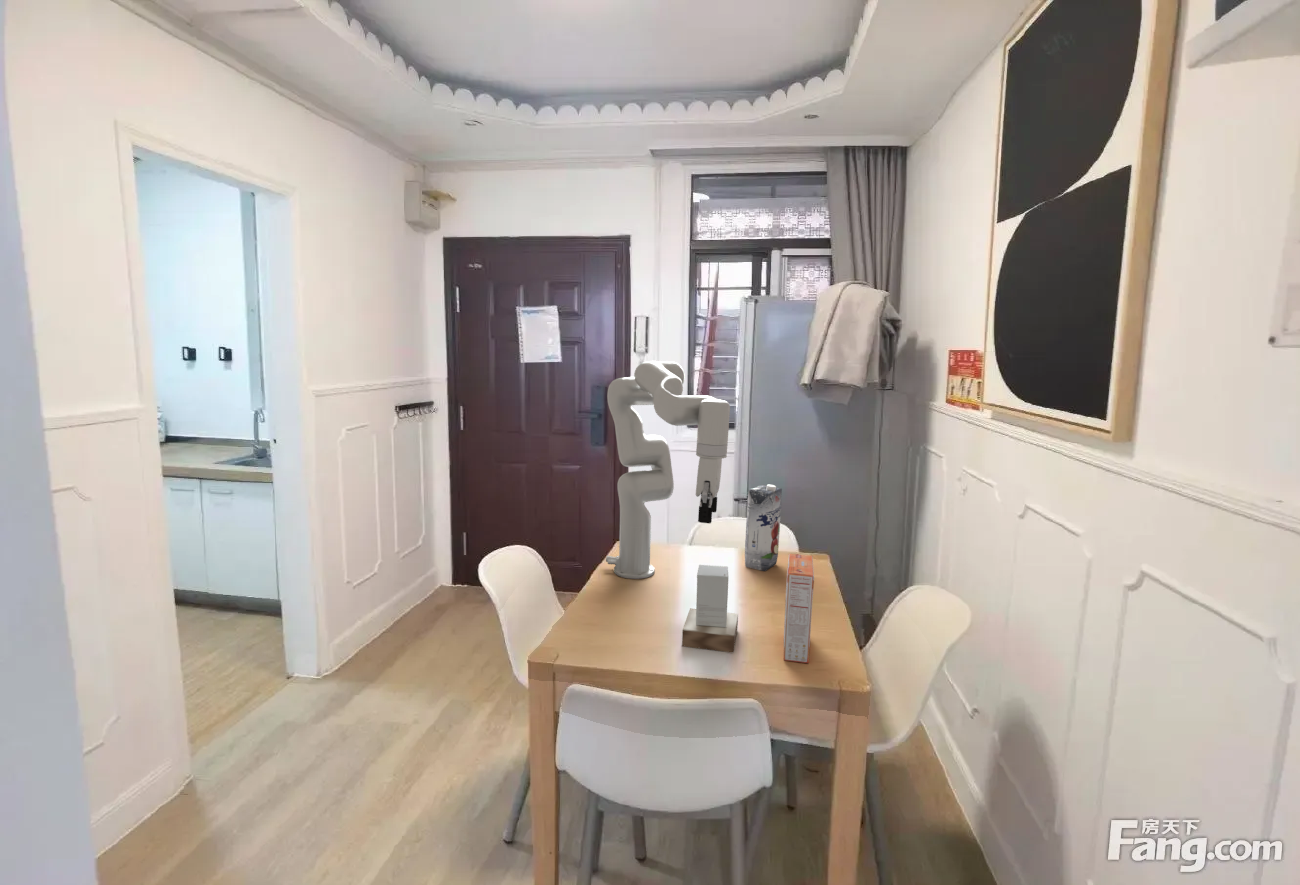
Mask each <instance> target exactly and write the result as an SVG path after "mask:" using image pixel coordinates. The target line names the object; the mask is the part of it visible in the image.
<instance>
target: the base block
mask: <svg viewBox="0 0 1300 885" xmlns="http://www.w3.org/2000/svg"><path fill="white" fill-rule="evenodd" d="M738 622H739V613H735V612H734V613H732V612H727V621H726V627H715V626H701V625H696V608H689V611H688V613H687V615H686V618H685V621H684V624H683V627H682V635H681V637H682V638H681V647H686V648H694V649H699V650H700V649H702V650H709V651H717V652H723V653H724V652H725V653H732V654H734V652H735V646H736V640H737V635H738Z"/></svg>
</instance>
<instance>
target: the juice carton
mask: <svg viewBox="0 0 1300 885" xmlns="http://www.w3.org/2000/svg"><path fill="white" fill-rule="evenodd" d="M782 490H783V489H782V488H780V487H777V486H776V485H774V484H767V485H762V484H760V485H758V486H756V487H754V488H749V489H748V492H747V505H746V507H747V508H746V523H745V540H744V543H745V544H744V566H745V567H746V568H749V569H753V570H758V571H761V572H767V571H768V570H769V569H771V568H772V567H774V566H775V565H777V562H778V557H779V546H780V544H779V543H780V531H781V530H780V528H781V511H782Z"/></svg>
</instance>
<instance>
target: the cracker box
mask: <svg viewBox="0 0 1300 885" xmlns="http://www.w3.org/2000/svg"><path fill="white" fill-rule="evenodd" d="M787 561H788V562H787V568H786V569H787V571H786V586H785V587H786V588H785V604H784V605H785V606H784V626H783V628H784V629H783V661H786V662H787V661H788V662H792V663H793V662H794V663H795V662H796V663H802V664H809V662H810V645H811V631H812V612H813V598H814V597H813V596H814V584H815V575H814V574H815V571H814V570H815V569H814V560H813V555H806V554H796V553H789V554H788V560H787Z"/></svg>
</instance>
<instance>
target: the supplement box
mask: <svg viewBox="0 0 1300 885" xmlns="http://www.w3.org/2000/svg"><path fill="white" fill-rule="evenodd" d="M728 595H729V567H728V566H723V565H710V564H709V565H708V564H707V565H705V564H699V565H698V569H697V574H696V603H695V604H696V606H695V609H696V625H701V626H715V627H726V621H727V613H728V598H729V596H728Z"/></svg>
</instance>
